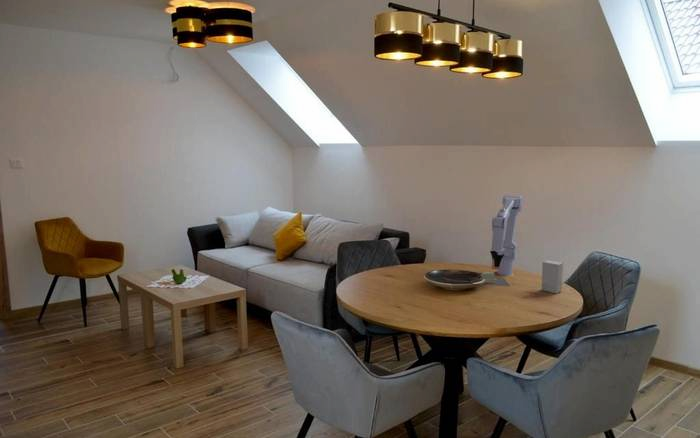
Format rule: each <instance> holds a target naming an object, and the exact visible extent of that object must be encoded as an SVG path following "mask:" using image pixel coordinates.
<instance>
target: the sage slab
mask: <svg viewBox="0 0 700 438" xmlns="http://www.w3.org/2000/svg"><path fill="white" fill-rule="evenodd" d="M480 275H481V276H482V277H483V279H495V278H496V275H495V273H494V272H489V271H487V272H486V271H481V274H480Z"/></svg>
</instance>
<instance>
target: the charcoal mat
mask: <svg viewBox="0 0 700 438" xmlns="http://www.w3.org/2000/svg"><path fill="white" fill-rule="evenodd" d="M495 278H496V283H483V284H481V285H482V286H498V287H511V285H510V284H509V281H507V280H506V279H505V277H495ZM481 285H480V286H481Z"/></svg>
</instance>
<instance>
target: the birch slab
mask: <svg viewBox="0 0 700 438" xmlns="http://www.w3.org/2000/svg"><path fill="white" fill-rule="evenodd" d="M480 276H481V274H480V275H479V277H480ZM481 278H482V279H483V277H482V276H481ZM496 278H497V277H495V279H485V282H484V283H496Z"/></svg>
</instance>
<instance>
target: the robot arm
mask: <svg viewBox="0 0 700 438" xmlns="http://www.w3.org/2000/svg"><path fill="white" fill-rule="evenodd" d="M523 204H524V198H523V196H522V195H511V194H510V195H509V194H504V195H503V197H502V205H503V206H502V208H500V209H499V210H498V212H497V214H496V216H494V217H493V218H492V221H491V227H492V228H491V231H492V238H491V239H492V240H491V248H490V249H491V250H490V251H489V253H490V255H491V260H492V259H493V258H494V265H495V267H499V266H500V263H501V268H500V269H499V270H496V273H497V274H498V275H499V276H515V274H514V273H513V272H514V271H513V270H514V260H515V259H517V257H518V245H517V244H516V243H515V242H514V239H515V233H516V232H515V231H516V226H517V225H516V224H517V217H518V214H519V213H520V212H522V210H523V209H522V208H523Z"/></svg>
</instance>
